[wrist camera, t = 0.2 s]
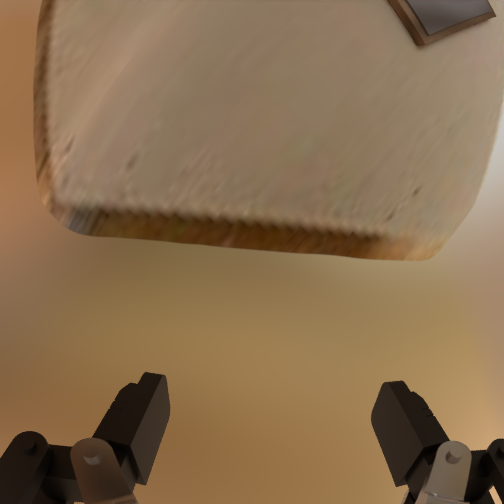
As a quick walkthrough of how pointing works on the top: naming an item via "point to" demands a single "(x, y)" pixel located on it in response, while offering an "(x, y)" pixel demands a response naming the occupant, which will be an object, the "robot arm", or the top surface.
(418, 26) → the walnut base
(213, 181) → the top surface
